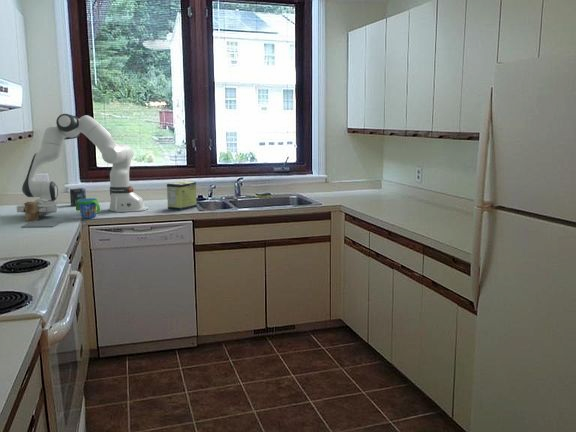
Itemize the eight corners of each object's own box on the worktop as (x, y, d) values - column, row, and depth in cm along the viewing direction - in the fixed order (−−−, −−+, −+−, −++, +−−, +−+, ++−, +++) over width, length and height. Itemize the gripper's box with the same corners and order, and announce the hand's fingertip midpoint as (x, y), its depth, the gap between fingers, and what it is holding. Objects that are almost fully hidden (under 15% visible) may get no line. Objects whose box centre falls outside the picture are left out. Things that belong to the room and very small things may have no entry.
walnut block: (39, 219, 309) (37, 201, 307) (35, 221, 304) (33, 203, 302) (29, 219, 309) (28, 201, 307) (26, 221, 304) (24, 203, 302)
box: (74, 206, 350) (73, 189, 348) (70, 205, 354) (69, 189, 352) (86, 205, 355) (85, 188, 353) (82, 204, 359) (81, 187, 357)
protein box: (197, 206, 348) (196, 181, 346) (180, 210, 335) (179, 184, 332) (184, 205, 354) (183, 180, 351) (167, 209, 340) (166, 183, 337)
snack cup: (71, 217, 313) (69, 199, 312) (86, 214, 322) (85, 197, 321) (90, 220, 306) (89, 202, 304) (105, 217, 315) (104, 199, 313)
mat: (62, 221, 302) (62, 220, 302) (53, 227, 288) (53, 226, 288) (32, 222, 301) (32, 221, 301) (21, 227, 288) (21, 226, 287)
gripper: (21, 201, 317) (10, 205, 303) (58, 200, 318) (49, 204, 304) (22, 212, 318) (12, 216, 304) (59, 211, 319) (50, 216, 305)
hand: (31, 210), depth 304 cm, fingers open, 8 cm apart
